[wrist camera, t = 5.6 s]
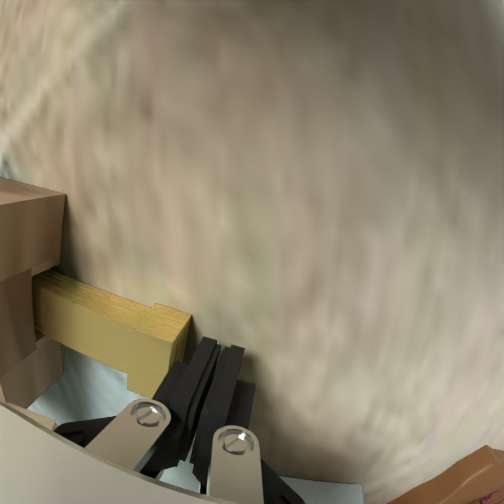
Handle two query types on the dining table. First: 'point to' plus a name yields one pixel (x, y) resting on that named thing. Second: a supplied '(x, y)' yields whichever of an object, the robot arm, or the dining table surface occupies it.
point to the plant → (464, 482)
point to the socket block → (26, 289)
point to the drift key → (111, 328)
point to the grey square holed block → (325, 491)
